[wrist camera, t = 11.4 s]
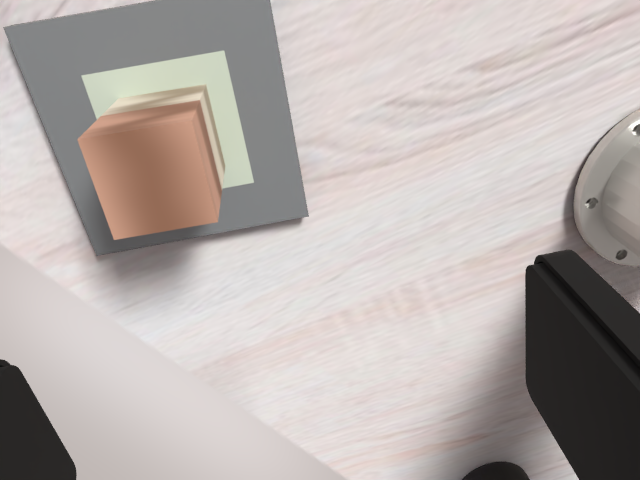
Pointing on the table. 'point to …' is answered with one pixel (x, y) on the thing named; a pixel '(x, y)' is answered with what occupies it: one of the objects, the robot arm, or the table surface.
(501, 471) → the travel mug
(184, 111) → the brick stack
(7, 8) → the table surface
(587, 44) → the table surface
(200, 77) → the base board
